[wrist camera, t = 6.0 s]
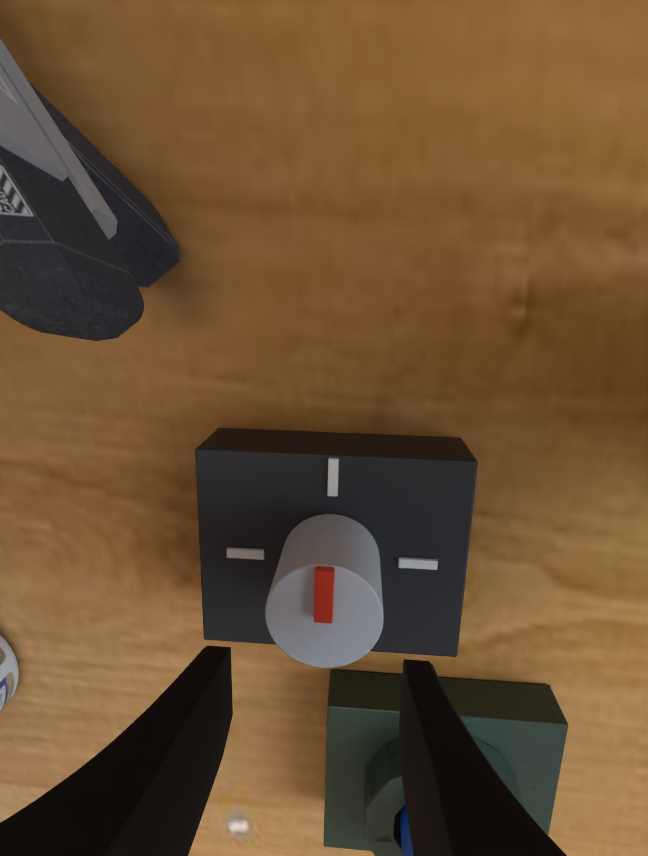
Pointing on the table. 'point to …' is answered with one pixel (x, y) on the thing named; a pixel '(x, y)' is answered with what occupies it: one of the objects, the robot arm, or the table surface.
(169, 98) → the table surface
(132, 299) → the gun
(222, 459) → the dimmer console
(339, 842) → the switch box
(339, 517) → the dimmer knob
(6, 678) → the pill bottle
